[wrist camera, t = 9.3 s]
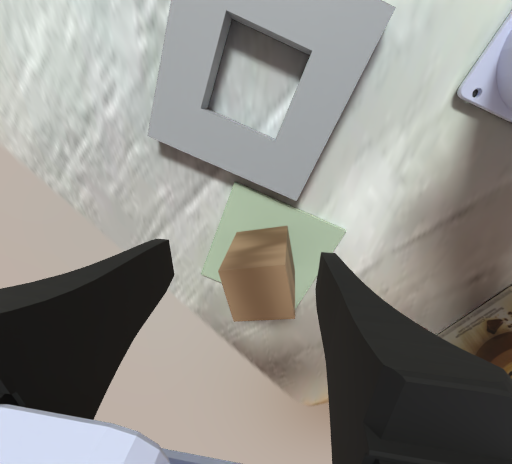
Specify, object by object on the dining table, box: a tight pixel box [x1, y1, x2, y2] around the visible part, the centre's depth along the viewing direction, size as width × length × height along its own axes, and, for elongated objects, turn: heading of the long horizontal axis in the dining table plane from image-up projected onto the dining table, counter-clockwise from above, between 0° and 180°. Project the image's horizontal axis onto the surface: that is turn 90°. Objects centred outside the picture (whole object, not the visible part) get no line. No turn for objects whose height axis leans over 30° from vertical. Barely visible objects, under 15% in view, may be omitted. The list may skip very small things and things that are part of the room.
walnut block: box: [218, 226, 295, 322], centre depth 20 cm, size 4×4×6 cm
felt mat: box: [201, 182, 346, 309], centre depth 23 cm, size 10×10×1 cm
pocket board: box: [148, 0, 396, 201], centre depth 16 cm, size 12×12×2 cm
